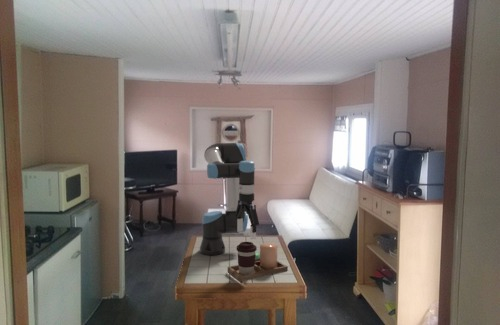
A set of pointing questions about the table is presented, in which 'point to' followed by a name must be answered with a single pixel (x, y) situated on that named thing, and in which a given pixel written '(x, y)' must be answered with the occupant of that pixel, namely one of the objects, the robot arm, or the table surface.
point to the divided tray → (255, 271)
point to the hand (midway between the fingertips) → (246, 235)
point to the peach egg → (268, 256)
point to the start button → (257, 255)
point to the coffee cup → (246, 257)
